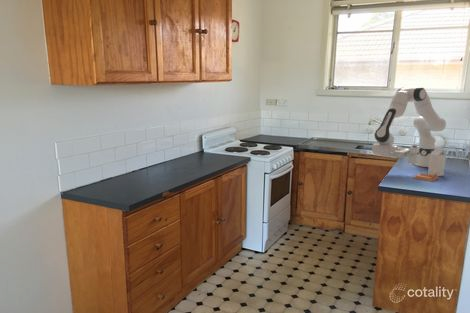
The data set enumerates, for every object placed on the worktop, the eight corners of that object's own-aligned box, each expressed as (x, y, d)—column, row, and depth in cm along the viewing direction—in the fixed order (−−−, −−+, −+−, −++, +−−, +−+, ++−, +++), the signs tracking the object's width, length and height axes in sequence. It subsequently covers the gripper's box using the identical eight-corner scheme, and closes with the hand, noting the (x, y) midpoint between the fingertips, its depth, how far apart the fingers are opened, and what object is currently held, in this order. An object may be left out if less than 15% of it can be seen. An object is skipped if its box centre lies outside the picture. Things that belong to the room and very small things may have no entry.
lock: (410, 161, 270) (412, 144, 268) (418, 163, 266) (421, 145, 264) (407, 162, 266) (409, 145, 264) (416, 164, 262) (418, 146, 260)
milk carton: (435, 176, 269) (438, 149, 266) (427, 174, 276) (430, 148, 272) (443, 176, 271) (446, 149, 267) (435, 173, 278) (439, 147, 274)
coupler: (419, 175, 272) (420, 169, 271) (438, 178, 264) (438, 172, 263) (413, 178, 262) (413, 172, 261) (432, 181, 254) (433, 175, 253)
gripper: (389, 148, 265) (410, 151, 256) (400, 146, 280) (420, 148, 271) (388, 157, 267) (409, 160, 257) (399, 154, 282) (419, 157, 273)
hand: (415, 154), depth 265 cm, fingers closed on lock, 5 cm apart
